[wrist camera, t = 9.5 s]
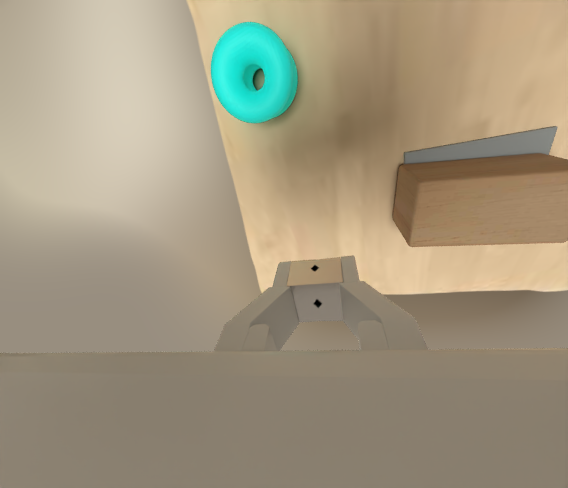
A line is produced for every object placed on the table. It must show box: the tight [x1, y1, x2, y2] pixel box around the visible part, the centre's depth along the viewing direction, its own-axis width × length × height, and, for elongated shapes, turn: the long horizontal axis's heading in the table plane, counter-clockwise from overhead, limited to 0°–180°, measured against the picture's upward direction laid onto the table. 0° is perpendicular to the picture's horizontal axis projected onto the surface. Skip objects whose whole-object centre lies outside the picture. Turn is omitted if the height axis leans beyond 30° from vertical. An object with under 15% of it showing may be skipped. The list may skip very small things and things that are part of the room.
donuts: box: [211, 22, 298, 123], centre depth 32 cm, size 10×10×10 cm
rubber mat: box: [404, 126, 557, 164], centre depth 40 cm, size 14×20×1 cm
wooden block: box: [393, 153, 568, 247], centre depth 36 cm, size 10×10×20 cm
